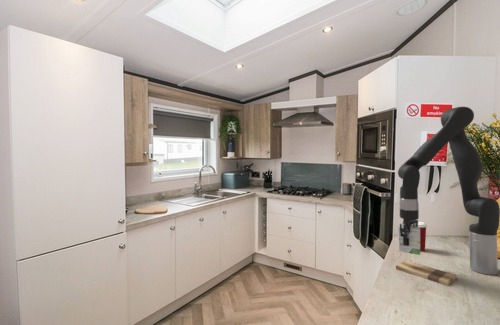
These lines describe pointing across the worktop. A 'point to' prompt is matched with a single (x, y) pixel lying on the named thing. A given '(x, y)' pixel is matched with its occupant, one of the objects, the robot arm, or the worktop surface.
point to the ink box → (410, 241)
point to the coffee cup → (422, 235)
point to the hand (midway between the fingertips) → (409, 243)
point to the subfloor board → (426, 272)
